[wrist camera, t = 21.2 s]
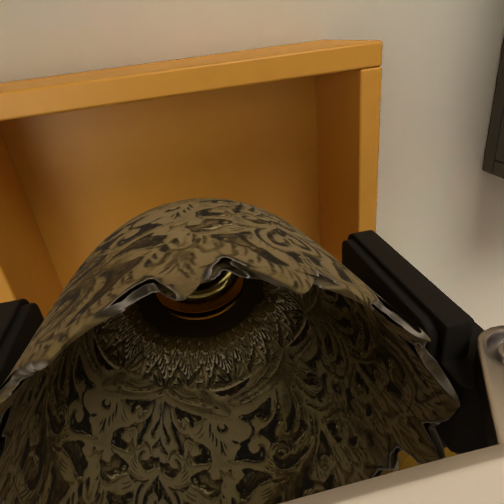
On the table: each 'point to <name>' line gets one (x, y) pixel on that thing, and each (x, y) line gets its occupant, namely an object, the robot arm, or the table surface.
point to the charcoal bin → (496, 128)
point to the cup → (215, 371)
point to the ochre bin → (185, 150)
